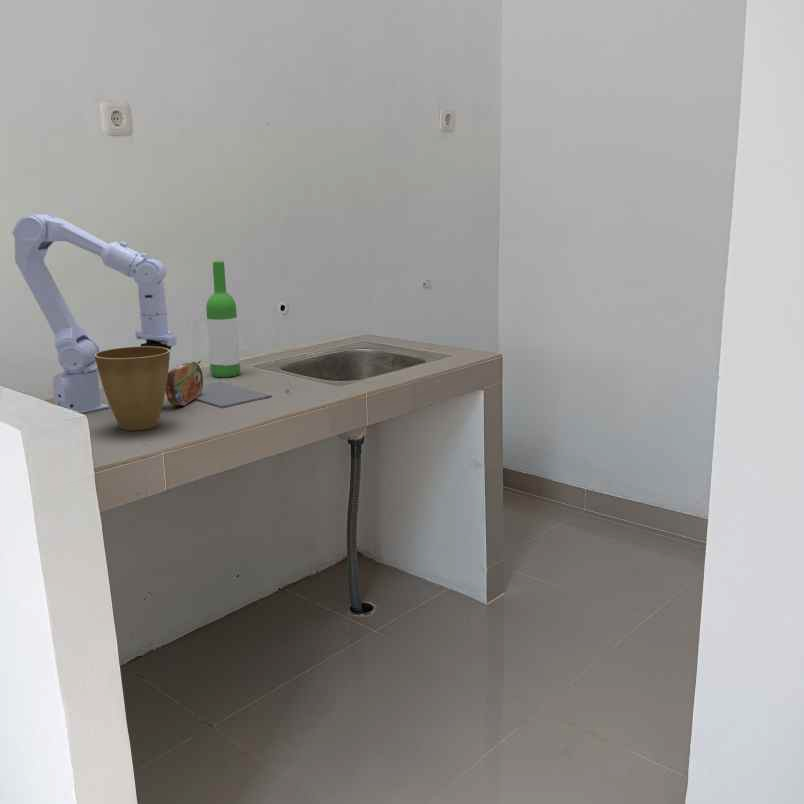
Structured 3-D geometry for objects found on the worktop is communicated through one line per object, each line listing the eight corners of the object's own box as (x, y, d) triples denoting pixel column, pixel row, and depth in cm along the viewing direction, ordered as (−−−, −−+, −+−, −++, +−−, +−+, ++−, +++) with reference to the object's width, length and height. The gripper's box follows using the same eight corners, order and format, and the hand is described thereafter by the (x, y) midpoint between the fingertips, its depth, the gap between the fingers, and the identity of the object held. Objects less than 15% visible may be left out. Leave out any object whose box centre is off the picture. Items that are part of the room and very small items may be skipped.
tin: (178, 410, 194) (173, 374, 192) (165, 410, 195) (160, 374, 192) (205, 392, 208) (201, 358, 206) (193, 392, 209) (189, 358, 206)
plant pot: (184, 429, 179) (178, 353, 175) (110, 440, 172) (102, 361, 168) (164, 413, 191) (158, 342, 188) (95, 423, 184) (87, 349, 180)
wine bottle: (217, 371, 234) (209, 260, 227) (244, 372, 233) (237, 260, 225) (206, 378, 226) (198, 262, 219) (234, 378, 225) (227, 262, 218)
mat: (222, 407, 196) (221, 406, 195) (171, 392, 211) (170, 391, 211) (271, 396, 205) (271, 395, 205) (219, 383, 220) (219, 381, 220)
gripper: (186, 314, 189) (191, 375, 193) (153, 309, 199) (158, 366, 203) (157, 318, 185) (163, 380, 188) (124, 312, 195) (130, 371, 198)
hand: (158, 373), depth 195 cm, fingers closed
